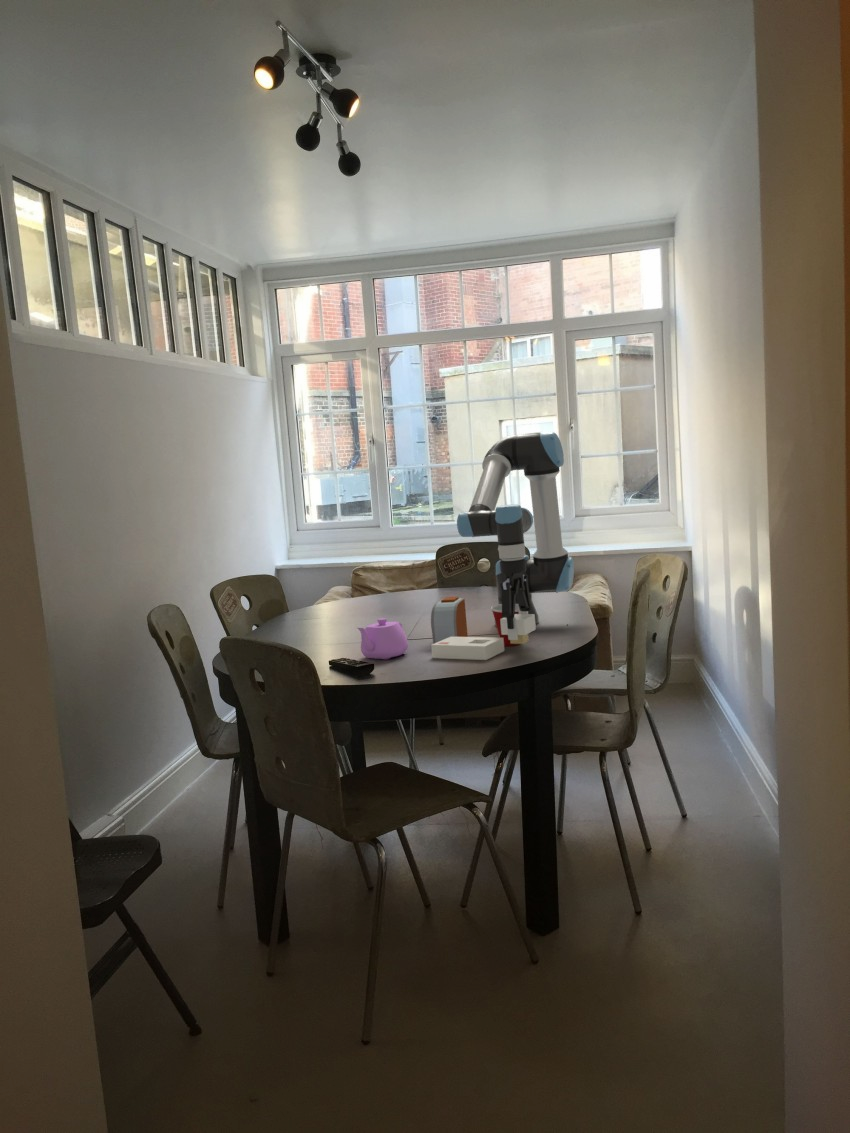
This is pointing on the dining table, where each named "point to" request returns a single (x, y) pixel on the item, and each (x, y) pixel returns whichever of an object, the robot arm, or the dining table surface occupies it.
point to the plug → (520, 627)
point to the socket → (468, 648)
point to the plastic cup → (498, 615)
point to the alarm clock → (448, 619)
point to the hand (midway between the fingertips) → (519, 636)
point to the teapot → (383, 640)
